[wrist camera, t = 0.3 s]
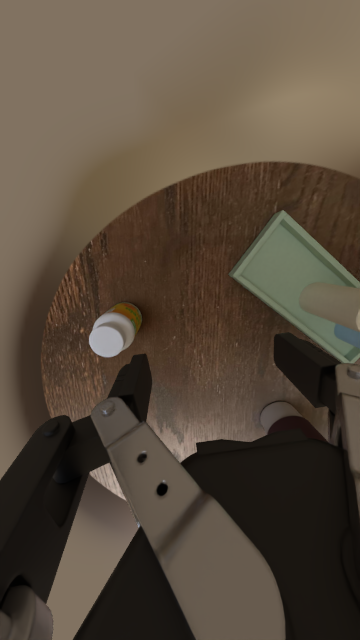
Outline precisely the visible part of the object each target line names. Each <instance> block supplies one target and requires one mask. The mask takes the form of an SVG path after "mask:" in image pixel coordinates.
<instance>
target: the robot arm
mask: <svg viewBox="0 0 360 640" xmlns="http://www.w3.org/2000/svg"><path fill="white" fill-rule="evenodd" d="M274 361H275V364H276V366H277V367H278V368H279V369H280V370H281V371H282V372H283V374H284V375H285V376H286V377H287V378H288V379H289V380H290V381H291V382H292V383H293V384H294V385H295V386H296V388H297V389H298V390H299V391H300V392H301V393H302V394H303V395H304V396H305V397H306V398H307V399H308V400H309V401H310V403H311V404H312V405H313V406H314V407H315V408H318V407H325V406H327V407H328V408H329V410H328V439H329V443H328V442H325V441H322V440H318V439H314V438H308V437H306V435H305V434H304V432H303V431H302V430H301V428H297V429H290V430H283V431H276V432H273V433H271V434H268V435H266V436H264V437H262V438H259V439H257V440H255V441H253V442H243V441H233V440H223V439H220V440H213V441H206V442H199V443H196V447H197V452H196V453H194V454H192V455H190V456H189V457H187V458H186V459H185V460H183V461H182V462H181V463H179V461H178V460H177V459H176V458H175V457H174V455H173V454H172V453H171V452H170V450H169V449H168V448H167V447H166V446H165V444H164V443H163V442H162V441H161V440H160V438H159V437H158V436H157V435H156V434H155V432H154V431H153V430H152V429H151V427H150V426H149V425H148V424H147V423H146V419H147V412H148V406H149V400H150V394H151V387H152V376H151V371H150V367H149V363H148V359H147V355H146V354H139V355H133V357H132V360H131V362H130V364H126V365H125V366H124V367H123V368H122V369H121V370H120V371H119V373H118V376H117V378H116V380H115V382H114V384H113V387H112V389H111V391H110V393H109V395H108V398H107V399H105V400H103V401H101V402H100V403H98V404H97V405H96V406H95V407H94V409H93V410H92V412H91V415H90V416H87V417H85V418H82V419H80V420H77V421H74V422H71V419H70V418H69V417H68V416H66V415H62V416H57V417H54V418H52V419H50V420H48V421H47V422H45V423H44V424H43V425H41V426H40V427H39V428H38V429H37V430H36V431H35V433H34V434H33V435H32V437H31V438H30V439H29V441H28V442H27V444H26V445H25V446H24V448H23V449H22V451H21V452H20V454H19V455H18V456H17V458H16V459H15V460H14V462H13V463H12V465H11V466H10V467H9V469H8V470H7V472H6V473H5V474H4V476H3V477H2V479H1V480H0V640H52V634H53V618H52V613H51V610H50V609H49V607H48V606H47V605H46V603H47V600H48V597H49V594H50V591H51V588H52V585H53V582H54V578H55V575H56V572H57V569H58V566H59V563H60V560H61V557H62V554H63V551H64V548H65V545H66V542H67V539H68V535H69V532H70V530H71V526H72V523H73V521H74V518H75V515H76V511H77V509H78V506H79V502H80V500H81V496H82V493H83V490H84V487H85V484H86V481H87V478H88V475H89V472H90V471H92V470H94V469H96V468H98V467H101V466H103V465H105V464H107V463H110V465H111V467H112V469H113V472H114V474H115V476H116V478H117V481H118V483H119V485H120V487H121V489H122V492H123V494H124V496H125V498H126V501H127V503H128V505H129V508H130V510H131V512H132V515H133V517H134V519H135V522H136V524H137V526H138V528H139V529H138V531H137V532H136V534H135V536H134V537H133V539H132V541H131V542H130V544H129V546H128V548H127V549H126V551H125V553H124V554H123V556H122V558H121V559H120V561H119V563H118V564H117V566H116V568H115V570H114V571H113V573H112V574H111V576H110V578H109V580H108V581H107V583H106V585H105V586H104V588H103V590H102V591H101V593H100V595H99V596H98V598H97V600H96V601H95V603H94V605H93V606H92V608H91V610H90V611H89V613H88V615H87V616H86V618H85V620H84V622H83V623H82V625H81V627H80V628H79V630H78V632H77V633H76V635H75V637H74V639H73V640H360V365H358V364H353V363H341V362H339V361H338V360H336V359H335V358H333V357H332V356H330V355H329V354H327V353H325V352H323V351H322V350H321V349H319V348H317V347H316V346H315V345H313V344H311V343H310V342H307V341H305V340H302V339H299V338H297V337H296V336H294V335H293V334H291V333H289V332H288V333H281V334H276V335H275V337H274Z"/></svg>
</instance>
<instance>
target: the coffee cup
mask: <svg viewBox="0 0 360 640" xmlns="http://www.w3.org/2000/svg"><path fill="white" fill-rule="evenodd" d="M260 420H261V424H262V426H263V428H264V430H265V433H266V435H268V434H271V433H273V432H276V431H283V430H290V429H297V428H301V430H302V431H303V432H304V434H305V435H306V437H308V438H314V439H318V440H322V441H325V442H328V441H327V440H326V439H325V438H324V437H323V436H322V435H321V434H320V433H319V432H318V431H317V430H316V429H315V428H314V427H313V426H312V425H311V424H310V422H309V421H308V420H306V419H305V418H303V417H302V416H301V415H300V414H299V412H298V411H297V410H296V409H295V408H294V407H293V406H292V405H290V404H289V403H286V402H275V403H272V404H270V405H268V406H267V407H265V408H264V410H263V411H262V413H261V416H260ZM328 443H329V442H328Z"/></svg>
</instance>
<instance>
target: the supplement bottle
mask: <svg viewBox="0 0 360 640" xmlns="http://www.w3.org/2000/svg"><path fill="white" fill-rule="evenodd" d="M141 323H142V315H141V312H140V311H139V309H138V308H137V307H136V306H135V305H133V304H131V303H127V302H122V303H118V304H116V305H115V306H113V307H112V308H111V309H109V310H108V311H107V312H106V313H104V314H103V315H102V316H100V317H99V318H98V319H97V320H96V322H95V324H94V326H93V331H92V332H91V334H90V337H89V344H90V346H91V348H92V350H93V351H94V352H95V353H97V354H98V355H100V356H103V357H113V356H115V355H117V354H119V353H120V352H121V351H122V350H124V349H126V348H127V347H129V346H130V344H131V343H132V342H133V340H134V338H135V336H136V334H137V332H138V330H139V328H140V326H141Z"/></svg>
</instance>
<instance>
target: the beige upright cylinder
mask: <svg viewBox="0 0 360 640" xmlns="http://www.w3.org/2000/svg"><path fill="white" fill-rule="evenodd" d="M299 304H300V307H301V308H302V309H303V310H304V311H306V312H308V313H311V314H314V315H316V316H319V317H321V318H324V319H326V320H329V321H332V322H334V323H337V324H339V325H342V326H344V327H347V328H350V329H352V330H355V331H357V332H360V288H353V287H347V286H340V285H334V284H327V283H321V282H315V283H312V284H309V285H308V286H306V287H305V288H304V289H303V291H302V292H301V294H300V297H299Z"/></svg>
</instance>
